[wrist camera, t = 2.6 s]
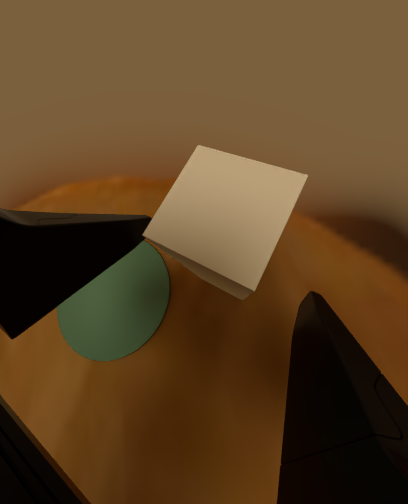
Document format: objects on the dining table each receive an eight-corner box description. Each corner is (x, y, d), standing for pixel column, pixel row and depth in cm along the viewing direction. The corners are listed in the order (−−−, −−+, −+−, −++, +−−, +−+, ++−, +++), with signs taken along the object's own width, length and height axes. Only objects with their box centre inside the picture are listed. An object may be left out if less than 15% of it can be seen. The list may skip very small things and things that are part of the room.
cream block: (242, 300, 17) (254, 291, 5) (202, 279, 18) (142, 235, 6) (261, 259, 17) (307, 175, 6) (221, 242, 19) (198, 144, 7)
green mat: (79, 387, 17) (75, 389, 16) (49, 275, 21) (45, 274, 21) (192, 313, 17) (191, 313, 17) (139, 216, 21) (138, 215, 21)
